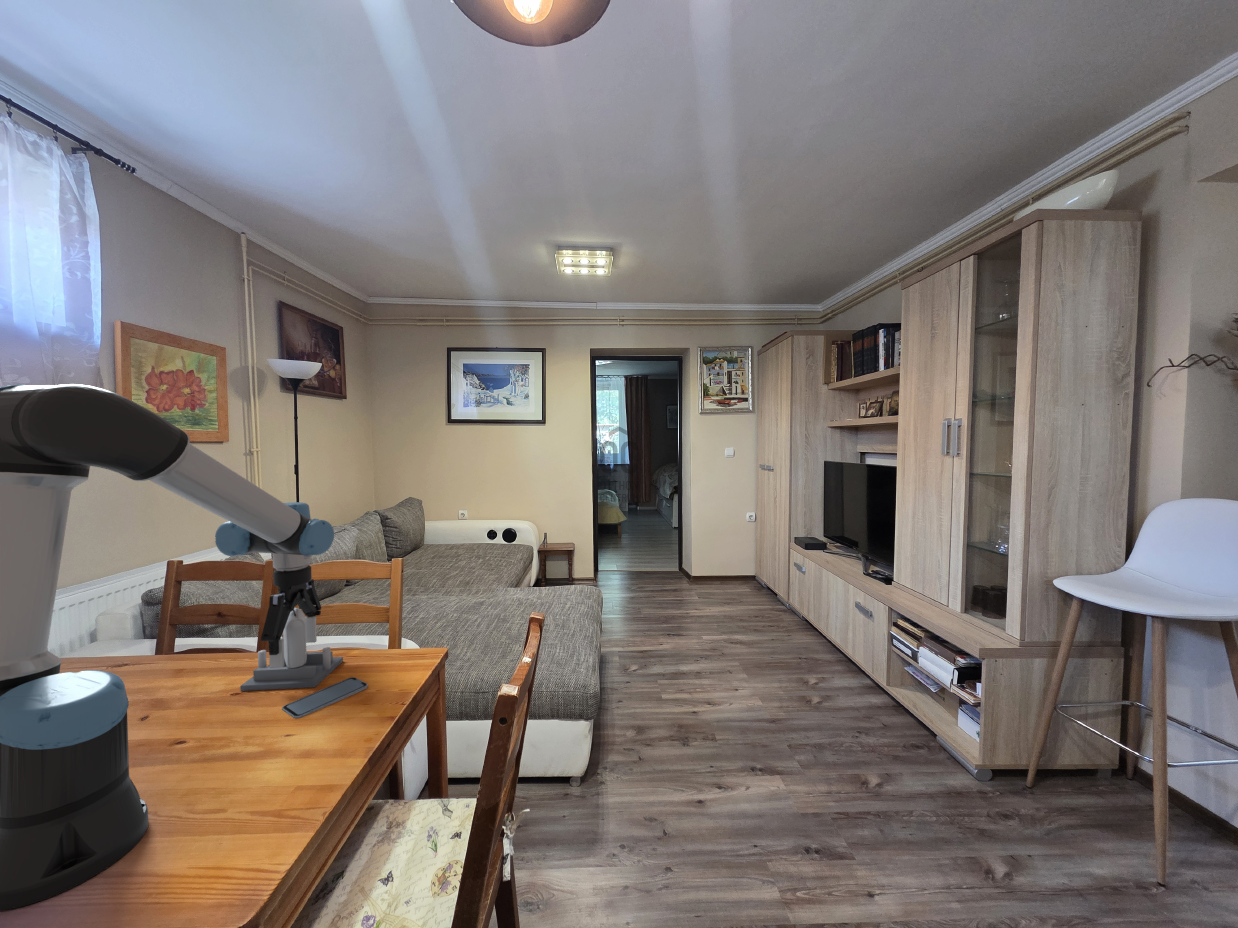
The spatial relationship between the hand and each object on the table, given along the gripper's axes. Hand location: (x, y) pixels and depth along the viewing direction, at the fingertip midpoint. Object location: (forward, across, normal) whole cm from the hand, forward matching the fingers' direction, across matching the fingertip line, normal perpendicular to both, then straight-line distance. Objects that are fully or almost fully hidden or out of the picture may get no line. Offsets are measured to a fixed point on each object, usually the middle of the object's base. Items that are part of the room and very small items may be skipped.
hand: (294, 653), depth 112 cm
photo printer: (+2, 0, 0) cm, 2 cm away
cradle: (+5, 0, 0) cm, 5 cm away
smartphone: (+6, -11, -13) cm, 18 cm away
